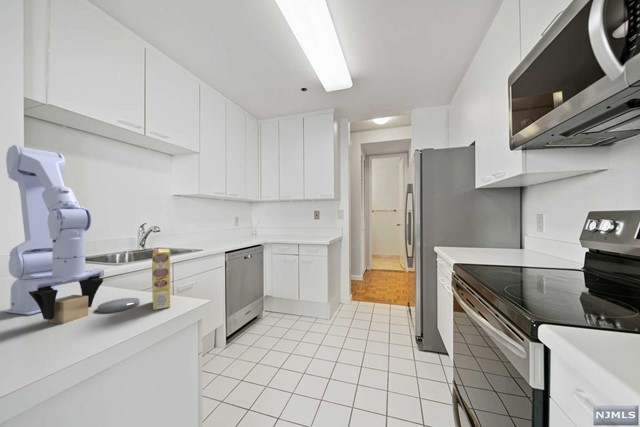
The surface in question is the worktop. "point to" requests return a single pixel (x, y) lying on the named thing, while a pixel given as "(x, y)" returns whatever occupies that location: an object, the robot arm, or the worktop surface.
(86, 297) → the oak cube
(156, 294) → the candy box
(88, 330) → the worktop surface
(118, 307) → the slate coaster
